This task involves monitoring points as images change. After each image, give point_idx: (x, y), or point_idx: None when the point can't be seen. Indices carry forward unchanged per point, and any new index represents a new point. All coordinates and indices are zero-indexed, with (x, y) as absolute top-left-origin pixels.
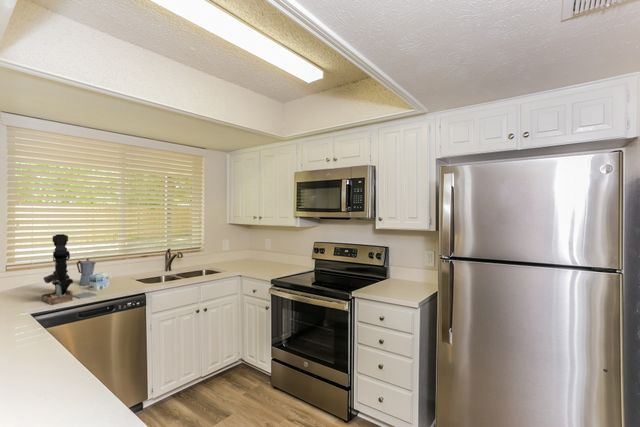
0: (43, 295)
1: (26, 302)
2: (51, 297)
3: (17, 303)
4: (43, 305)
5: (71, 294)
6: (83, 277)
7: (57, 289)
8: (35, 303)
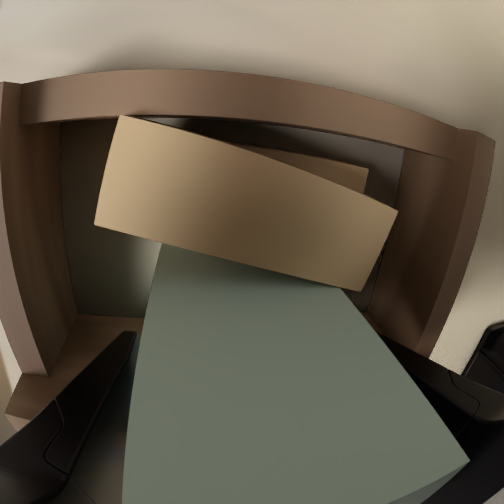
0: (464, 144)
1: (476, 38)
2: (173, 127)
3: (490, 2)
4: (117, 4)
5: (26, 385)
6: None
7: (326, 373)
8: (362, 14)
